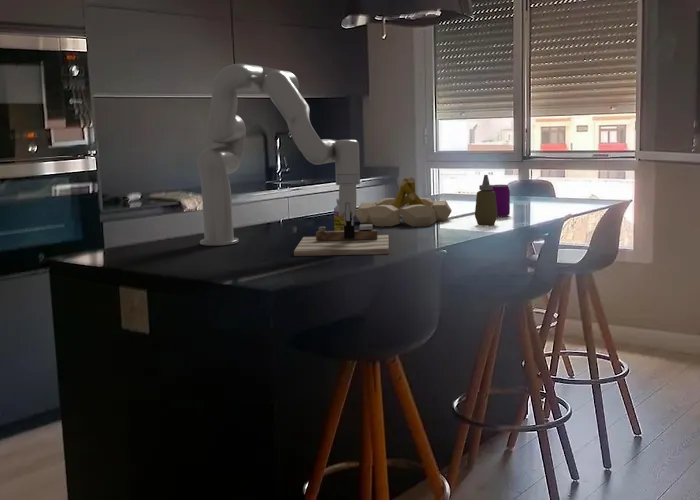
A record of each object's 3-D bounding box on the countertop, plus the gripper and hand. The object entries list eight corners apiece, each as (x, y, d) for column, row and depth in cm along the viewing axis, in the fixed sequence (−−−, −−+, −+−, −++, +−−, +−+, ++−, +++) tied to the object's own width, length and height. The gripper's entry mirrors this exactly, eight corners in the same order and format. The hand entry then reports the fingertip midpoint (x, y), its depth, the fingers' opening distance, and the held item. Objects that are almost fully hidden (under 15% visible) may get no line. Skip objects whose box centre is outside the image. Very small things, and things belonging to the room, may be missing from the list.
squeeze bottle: (487, 227, 292) (487, 176, 289) (470, 225, 298) (469, 175, 295) (502, 224, 297) (502, 174, 294) (484, 223, 303) (484, 173, 300)
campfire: (421, 230, 292) (420, 181, 289) (341, 225, 310) (339, 180, 308) (464, 218, 321) (463, 174, 318) (388, 214, 339) (387, 172, 336)
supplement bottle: (330, 236, 281) (329, 199, 279) (343, 234, 286) (342, 197, 284) (344, 238, 277) (343, 200, 275) (358, 235, 282) (357, 198, 279)
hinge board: (303, 241, 273) (302, 223, 272) (388, 239, 272) (388, 221, 271) (294, 256, 246) (293, 236, 245) (388, 253, 244) (388, 233, 243)
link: (315, 240, 262) (315, 232, 261) (316, 238, 266) (316, 231, 265) (377, 239, 261) (377, 231, 261) (377, 237, 265) (377, 229, 265)
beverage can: (487, 217, 319) (487, 186, 317) (492, 214, 326) (492, 184, 324) (507, 217, 316) (507, 186, 314) (511, 215, 323) (511, 184, 321)
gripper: (337, 178, 265) (339, 234, 268) (334, 182, 250) (335, 242, 253) (360, 177, 264) (362, 234, 267) (358, 181, 249) (360, 241, 252)
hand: (349, 238), depth 260 cm, fingers closed
